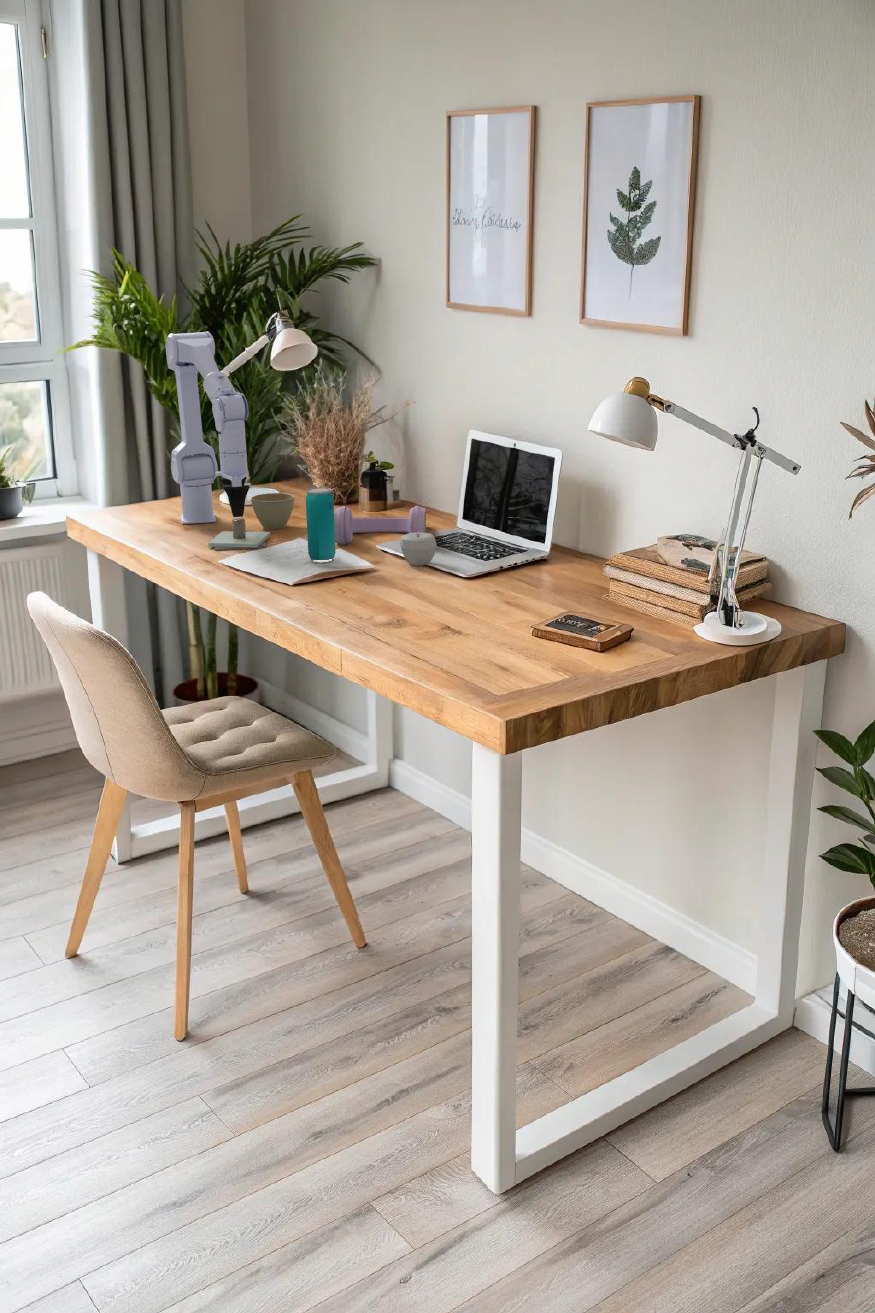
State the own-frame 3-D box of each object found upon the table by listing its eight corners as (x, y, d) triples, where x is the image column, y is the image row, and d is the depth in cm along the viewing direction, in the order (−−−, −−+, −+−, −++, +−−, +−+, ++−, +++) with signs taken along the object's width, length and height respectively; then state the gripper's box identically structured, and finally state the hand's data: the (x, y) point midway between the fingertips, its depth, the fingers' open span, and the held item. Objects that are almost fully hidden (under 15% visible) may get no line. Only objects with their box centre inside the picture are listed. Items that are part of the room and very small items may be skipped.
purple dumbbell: (332, 514, 269) (341, 484, 286) (334, 556, 273) (344, 524, 291) (423, 513, 268) (427, 483, 286) (424, 556, 272) (428, 524, 290)
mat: (212, 537, 282) (212, 536, 281) (261, 534, 284) (261, 533, 284) (215, 550, 270) (215, 549, 270) (266, 547, 273) (266, 545, 272)
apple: (444, 565, 257) (444, 534, 255) (411, 571, 253) (411, 539, 251) (425, 557, 263) (424, 526, 261) (392, 562, 259) (391, 531, 257)
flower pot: (304, 526, 291) (303, 496, 289) (271, 534, 284) (269, 503, 282) (276, 520, 298) (275, 490, 295) (243, 527, 291) (241, 497, 288)
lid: (222, 534, 283) (221, 513, 281) (270, 535, 281) (268, 514, 280) (208, 546, 272) (206, 525, 271) (257, 547, 271) (256, 525, 270)
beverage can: (338, 557, 264) (335, 487, 259) (333, 564, 259) (330, 492, 254) (311, 556, 265) (308, 486, 260) (306, 563, 259) (302, 492, 254)
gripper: (212, 446, 276) (216, 506, 281) (215, 458, 263) (220, 521, 267) (244, 444, 278) (248, 504, 282) (249, 456, 264) (253, 519, 269)
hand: (236, 512), depth 275 cm, fingers open, 7 cm apart
